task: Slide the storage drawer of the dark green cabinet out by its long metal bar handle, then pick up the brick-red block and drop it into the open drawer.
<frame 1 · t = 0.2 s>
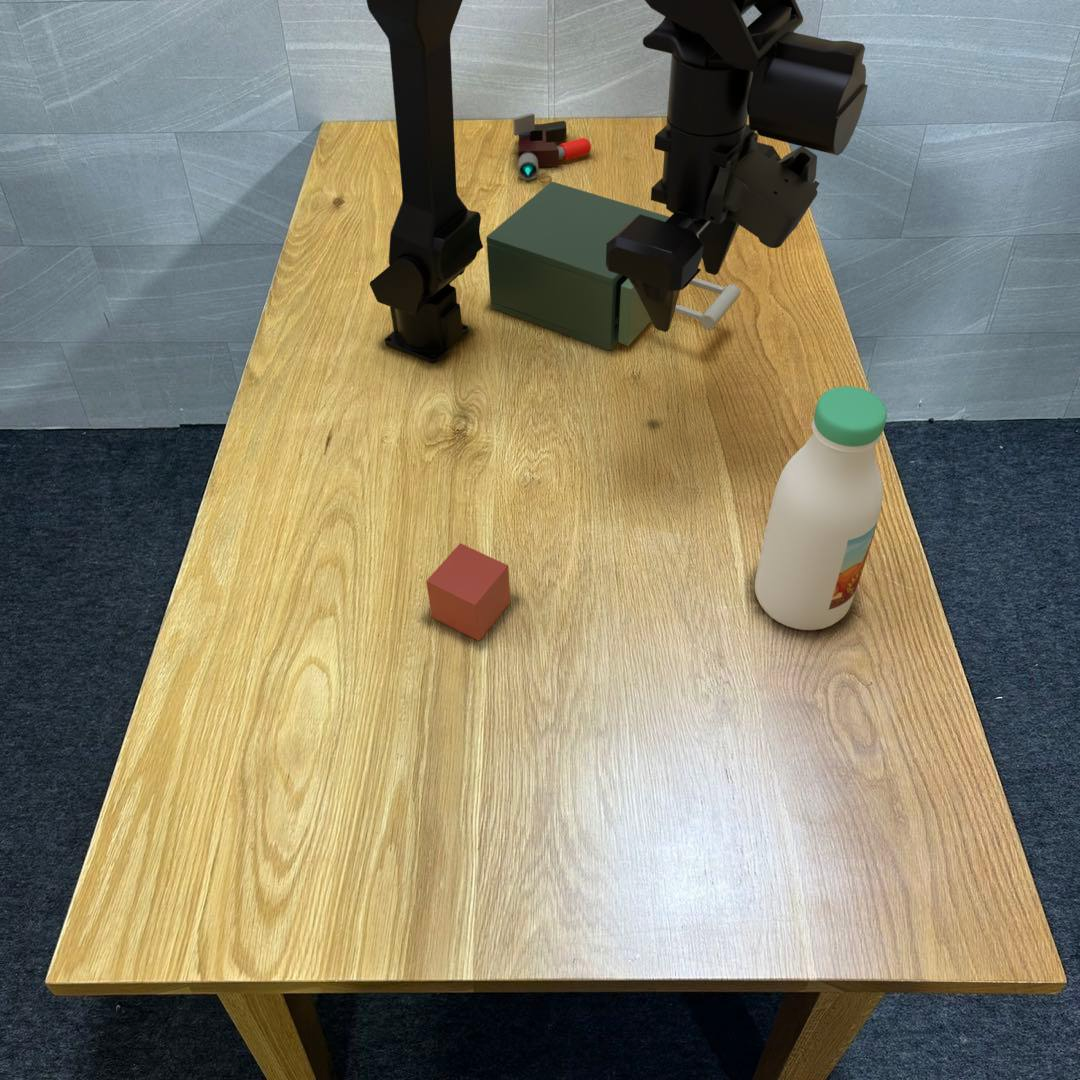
hand: (687, 300, 86), 15 cm above the table, tool pointing down, fingers open, 9 cm apart
milk bottle: (801, 596, 83), on the table
toy gun: (552, 161, 131), on the table
drawer: (632, 280, 106), point 4 cm above the table, slide at 0.5 cm
block: (471, 609, 83), on the table
cabinet: (579, 298, 111), on the table
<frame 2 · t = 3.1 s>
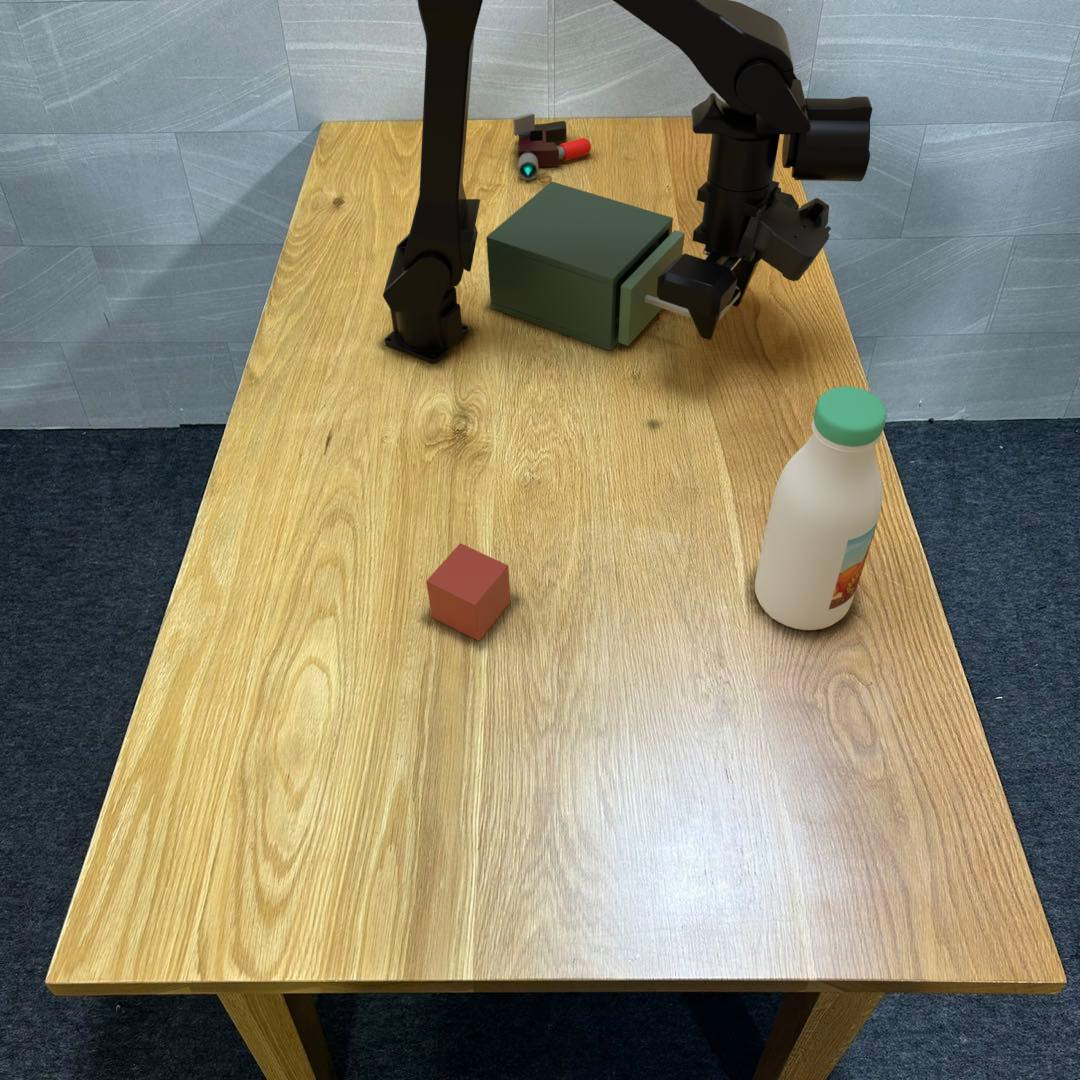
hand: (720, 321, 103), 3 cm above the table, tool pointing down, fingers closed on drawer, 6 cm apart
drawer: (632, 280, 106), point 4 cm above the table, slide at 0.5 cm, touching gripper
everything else where it was.
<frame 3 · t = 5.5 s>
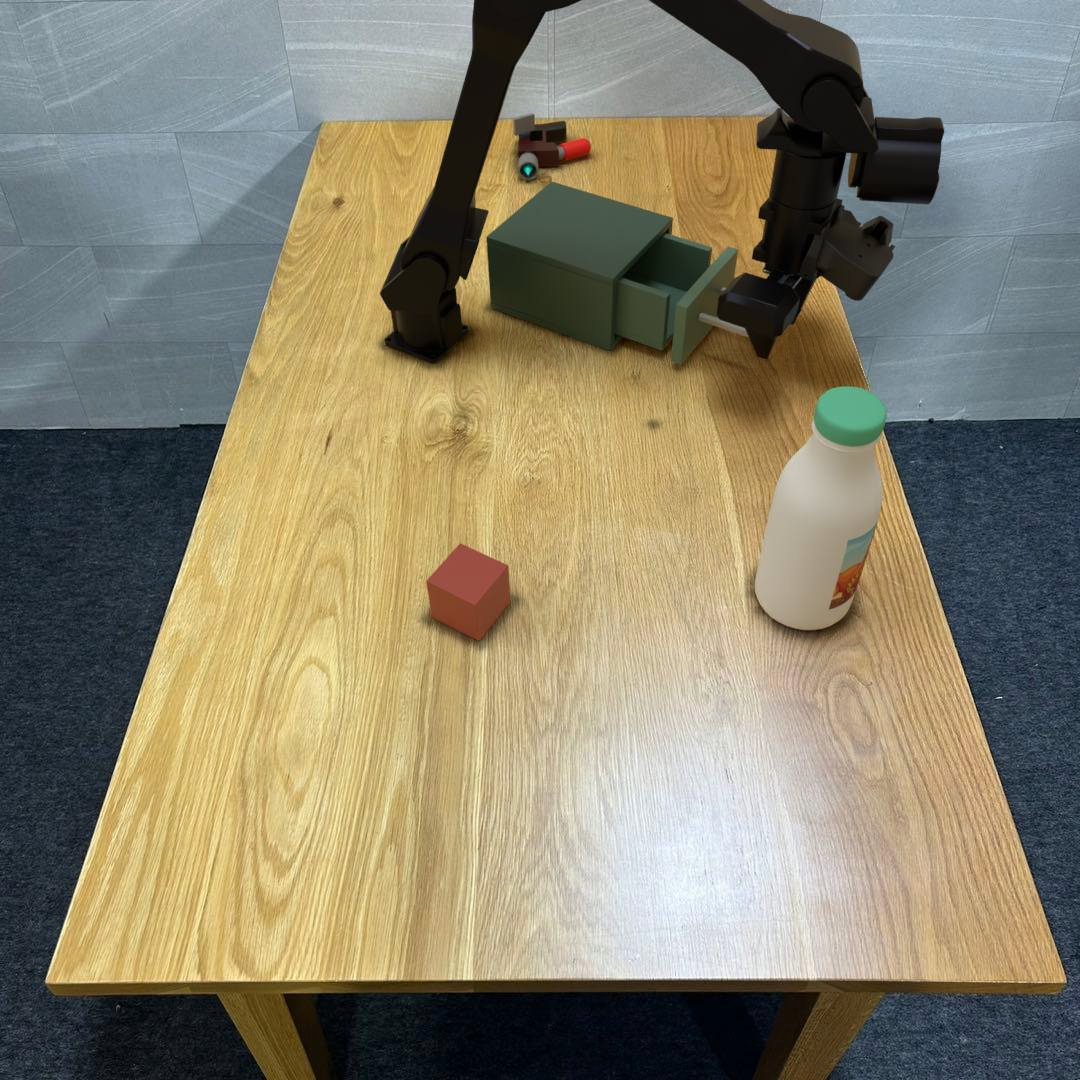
hand: (775, 340, 101), 3 cm above the table, tool pointing down, fingers closed on drawer, 6 cm apart
drawer: (684, 298, 103), point 4 cm above the table, slide at 6.4 cm, touching gripper
everything else where it was.
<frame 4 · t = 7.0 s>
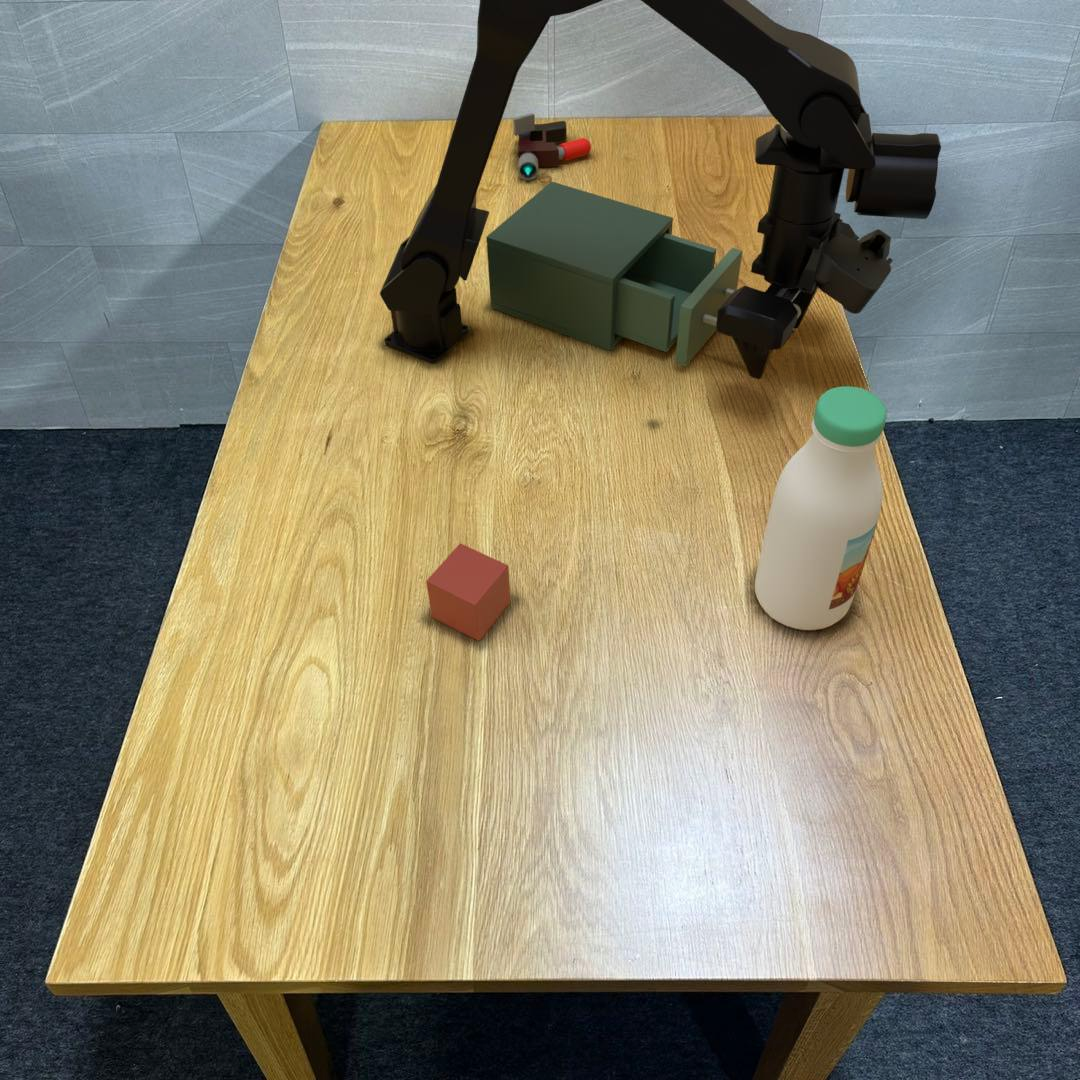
hand: (774, 351, 102), 2 cm above the table, tool pointing down, fingers open, 9 cm apart
drawer: (688, 299, 103), point 4 cm above the table, slide at 6.9 cm
everything else where it was.
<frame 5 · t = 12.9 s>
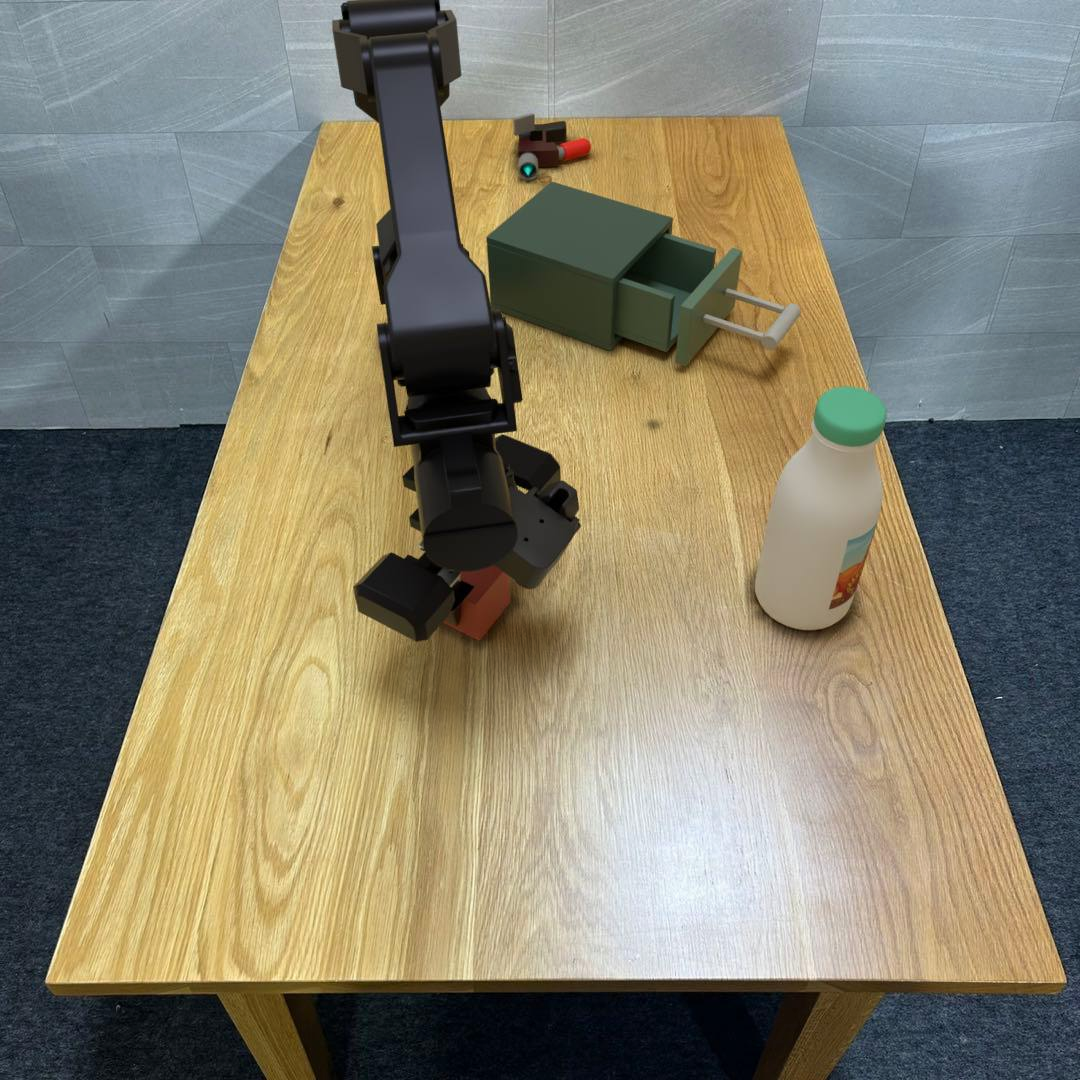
hand: (470, 602, 82), 1 cm above the table, tool pointing down, fingers closed on block, 4 cm apart
block: (471, 609, 83), on the table, touching gripper
everything else where it was.
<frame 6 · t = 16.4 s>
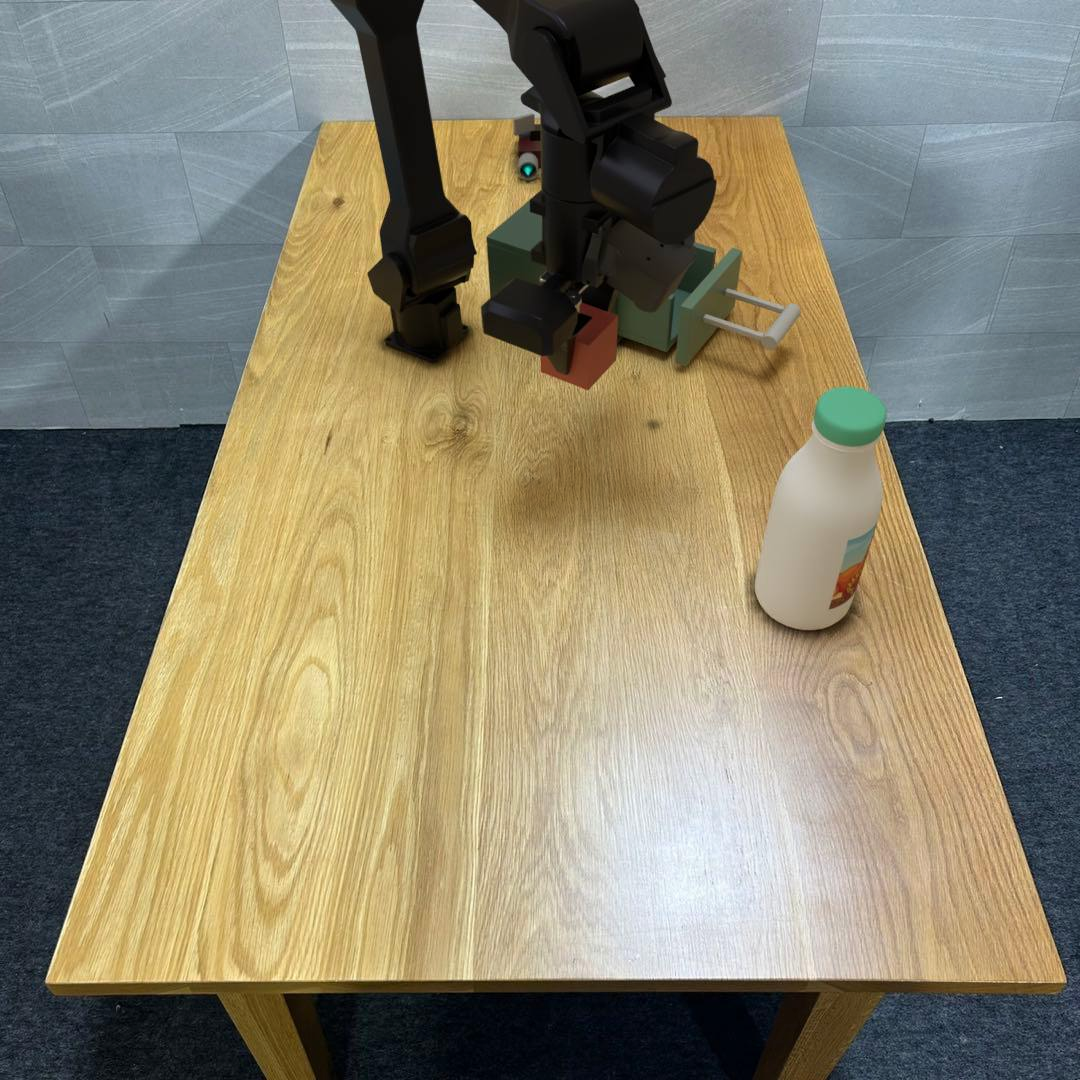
hand: (578, 356, 85), 12 cm above the table, tool pointing down, fingers closed on block, 4 cm apart
block: (578, 366, 86), point 11 cm above the table, touching gripper
everything else where it was.
when the fingers open (8 cm above the table, at t = 20.3 s): block drops 5 cm, resting on drawer.
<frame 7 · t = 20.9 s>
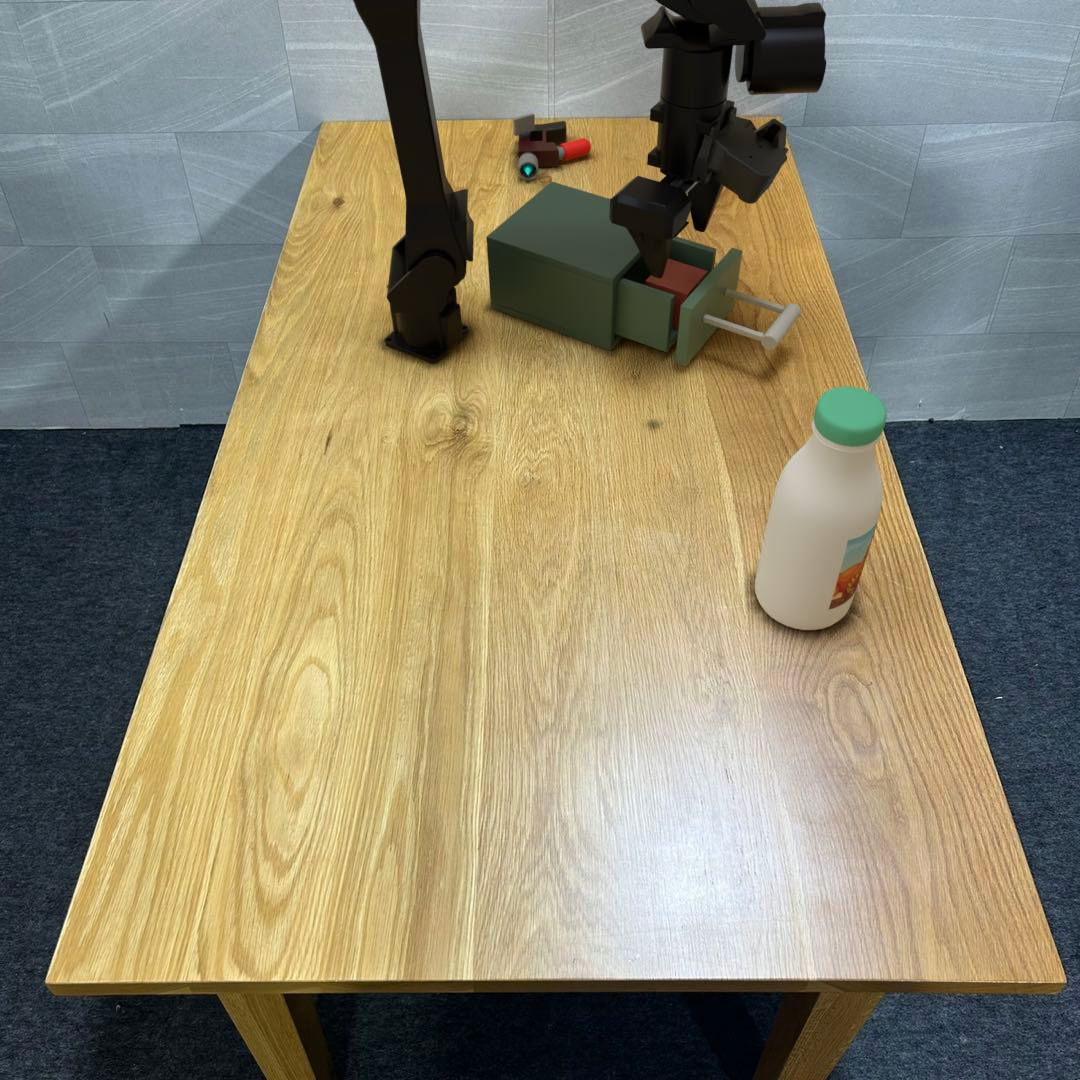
hand: (679, 253, 100), 9 cm above the table, tool pointing down, fingers open, 9 cm apart
drawer: (688, 299, 103), point 4 cm above the table, slide at 6.9 cm, touching block
block: (673, 314, 105), point 2 cm above the table, touching drawer
everything else where it was.
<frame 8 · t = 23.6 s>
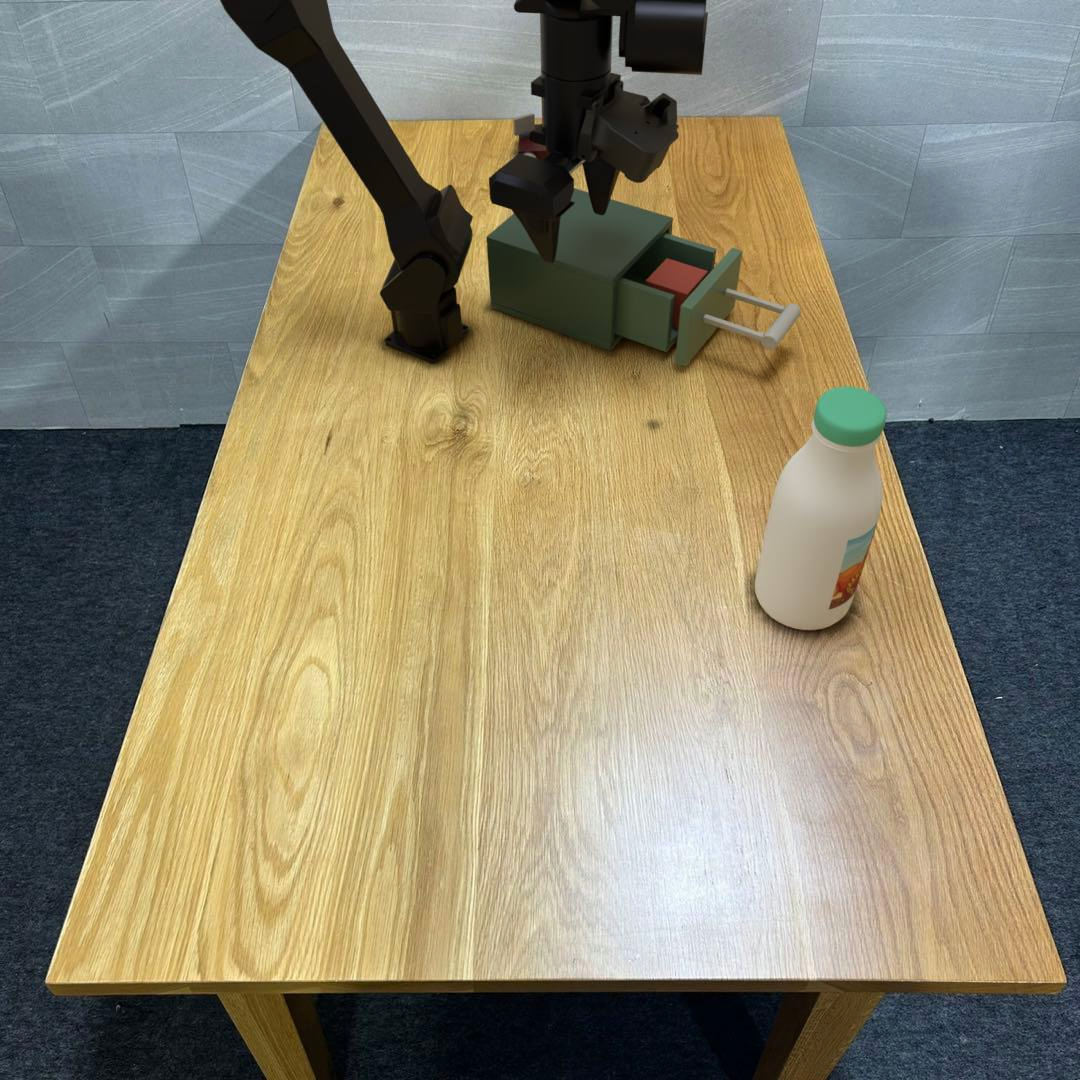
hand: (574, 236, 95), 13 cm above the table, tool pointing down, fingers open, 9 cm apart
nothing on the table moved.
at the end: drawer slide at 6.9 cm; block inside the target area in the cabinet (6.1 cm from its centre), point 2.0 cm above the cabinet's base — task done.
